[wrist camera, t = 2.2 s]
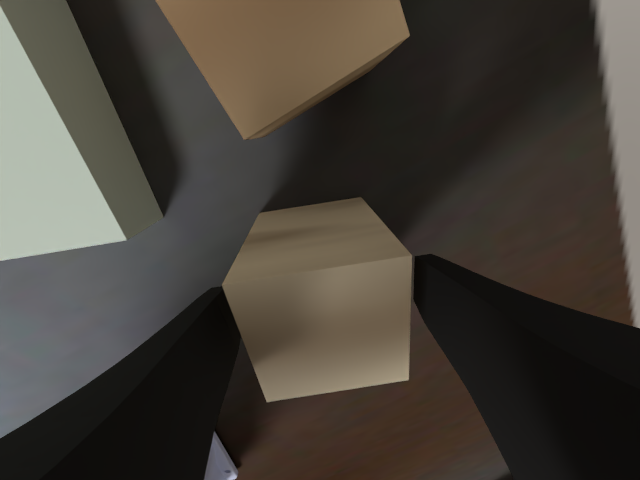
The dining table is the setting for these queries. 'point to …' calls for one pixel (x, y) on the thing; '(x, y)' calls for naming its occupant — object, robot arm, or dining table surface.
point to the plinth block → (61, 141)
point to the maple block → (322, 299)
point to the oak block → (283, 51)
